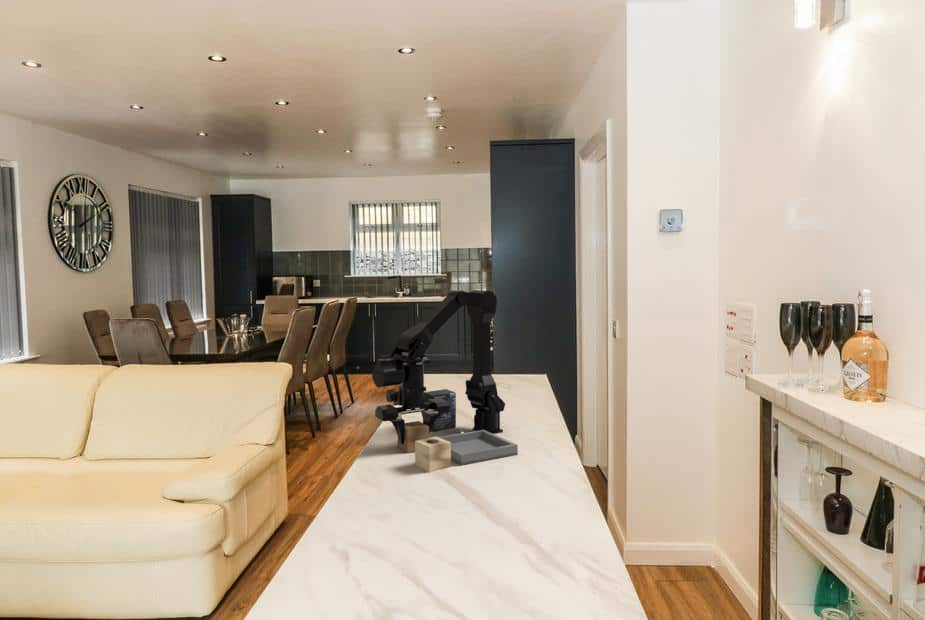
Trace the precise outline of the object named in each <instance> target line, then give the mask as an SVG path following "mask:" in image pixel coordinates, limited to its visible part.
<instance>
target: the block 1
mask: <svg viewBox="0 0 925 620" xmlns="http://www.w3.org/2000/svg"><path fill="white" fill-rule="evenodd" d="M427 438H430V433H429V426H428V425H426V424H424V423H423V421H422V422H421V421H419V420H418V421H417V420H416V421H415V420H414V421H410V422H405V430H404V444H403V445H402V444H401V443H400V440H399V438H398V437H397V447H398V448H399V449H400V450H403V451H404V452H406V453H407V454H409V453H415V441H418V440H422V439H427Z"/></svg>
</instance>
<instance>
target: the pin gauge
mask: <svg viewBox="0 0 925 620" xmlns="http://www.w3.org/2000/svg"><path fill="white" fill-rule="evenodd" d="M461 433H467V432H466V430H464V429H459V430H456V431H455V433H452V434H451V435H455V434H461ZM449 435H450V434H448V435H445V436H449ZM443 436H444V435H441V436H439V437H443Z"/></svg>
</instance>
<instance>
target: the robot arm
mask: <svg viewBox="0 0 925 620" xmlns="http://www.w3.org/2000/svg"><path fill="white" fill-rule="evenodd" d="M497 304H498V298H497V295H496V294H495V293H494V292H493V291H491V290H483V289H482V290H481V289H480V290H478V289H472V290H471V291H469V292H467V291H465V290H456V289H454V290H451V291H449V292H448V293H447V294H446V296H445V297H444V299H442V301H441V302H440V303H438V305H437V306H435V308H434V309H433V310H432V311H431V312H430V313H428V315H427V316H425V318H423V320H422V321H421V322H420V323H418V324H416V325H414V326H412V327H409V328H408V329H406V330H405V331H404V332H402V333H401V334H400V335H399V336H398V337H397V340H396V342H397V343H396V345H395V346H394V348H393V349H392V352H391V353H390V355H389V357H388V358H387V359H384V358H383V359H382V358H381V359H380V358H379V359H376V364H375V365H374V367H373V370H372V372H371V373H372V374H371V376H372V382H373V383H374V386H376V387H377V388H385V387H392V386H397V385H398V386H399V387H398V391H396V389H395V388H392V389H391V388H389V389H386V391H385V397H386V398H385V399H386V402H387V403H393V405H392V404H383V405H377V407H376V408H375V410H374V413H375V414H374V415H375V416H374V417H375V418H377V419H379V420H380V421H382V422H390V423H392V425H393V428H394V430H395V432H396V435H397V439H398V438H399V440H400V443H401V444H402V445H403V444H404V430H405V423H406V422H405V419H403V418H402V417H403V416H402V415H407V414H414V413H420V414H421V416H422V423H424V424H426V425H428V426H429V434H430V433H431V432H432V431H431V428H432V426H433V425H434V423H435V421H436V419H437V418H438V417H440V416H441V415H440V414H441V413H448V412H450V405H449V403H448V402H447V401H445V400H443V399H441V398H436V399H428V401H427V404H426V403H425V402H424V392H427V386H425V372H424V371H425V368H424V367H425V366H424V365H427V364H428V365H429V364H432V361H431V359H429V358H428V357H427V356H426V355H425V354H426V353H427V352H428V350H429V348H430V347H431V345H432V343H433V339H434V337H435V336H436V334H437V333H438V332H439V331H440V330H441V329H442V328H443V327H444V326H445V325H446V323H448V322H449V320H450V319H451V318H452V317H453V316H454V315H455V314H456V313H457V312H458V311H459V310H460V309H461V308H462V307H463V306H466V309H467V314H468V316H469V318H470V320H471V322H472V370H473V371H472V375H471V377H470V379H466V380H465V394H464V395H466V397H467V400H468V401H469V402H470V406H471V408H472V409H475V412H474V416H473V427H472V430H473V431H479V430H485V431H488V432H490V433H492V434H495V433H503V432H504V430H503V429H502V428H501V427H500V426H501V412H504V411H505V406H506V403H505V402H504V400H503V399H502V398H501V397H500V396H499V395H498V389H497V388H498V387H497V383H496V381H495V379H494V377H493V376H492V368H491V367H492V353H491V352H492V351H491V349H492V348H491V347H492V346H491V344H492V340H491V339H492V336H491V335H492V333H491V331H492V330H491V328H492V327H491V325H492V321H493V320H494V317H495V315H496V313H497ZM395 406H399V407H395ZM438 412H439V413H440V414H438Z"/></svg>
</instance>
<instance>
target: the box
mask: <svg viewBox="0 0 925 620" xmlns="http://www.w3.org/2000/svg"><path fill="white" fill-rule="evenodd" d="M436 398H441V399H443V400H445V401H447V402H448V403H449V405H450V412H448V413H441V414H440V413H439V412H438V414H440V415H441V416H440V417H438V418H437V419H436V421H435V423H434V425H433V426H432V428H431V431H430V432H432V433H433V432H436V431H437V432H438V431H442V430H448V429H456V428H457V392H456V391H454V390H453V391H452V390H449V389H447V388H444V389H437V390H429V391H424V402H425V403H426V404H427V401H428V399H436Z"/></svg>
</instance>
